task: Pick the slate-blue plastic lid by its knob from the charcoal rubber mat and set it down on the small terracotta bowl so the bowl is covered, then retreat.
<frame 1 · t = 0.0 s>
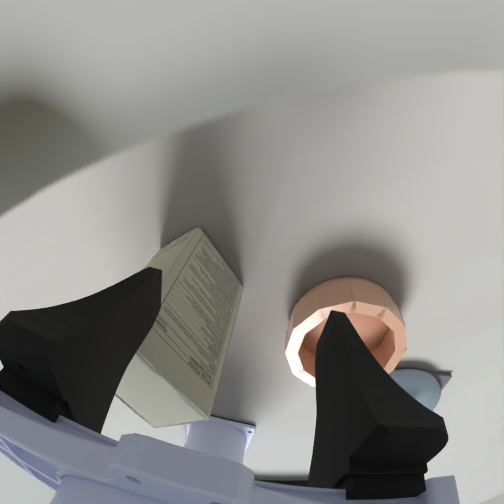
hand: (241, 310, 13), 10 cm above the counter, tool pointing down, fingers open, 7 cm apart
skincare box: (203, 269, 25), on the counter, touching gripper
lid: (391, 403, 28), resting on mat
bowl: (343, 324, 25), on the counter
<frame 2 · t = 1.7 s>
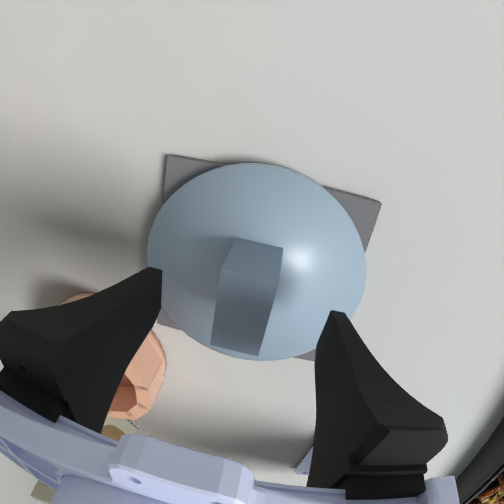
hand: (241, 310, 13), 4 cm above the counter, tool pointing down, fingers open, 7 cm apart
mat: (254, 269, 16), on the counter
skincare box: (108, 417, 27), on the counter
lid: (253, 273, 16), resting on mat
bowl: (109, 344, 21), on the counter
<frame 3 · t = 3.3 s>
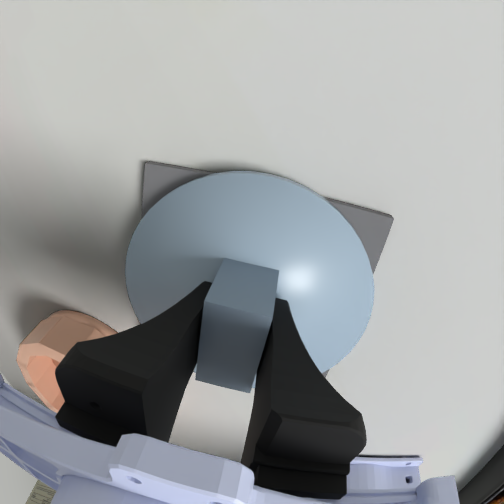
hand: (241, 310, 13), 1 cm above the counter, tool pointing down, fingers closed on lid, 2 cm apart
mat: (246, 291, 14), on the counter
skincare box: (99, 432, 25), on the counter
lid: (245, 296, 14), resting on mat, touching gripper
bowl: (95, 363, 19), on the counter
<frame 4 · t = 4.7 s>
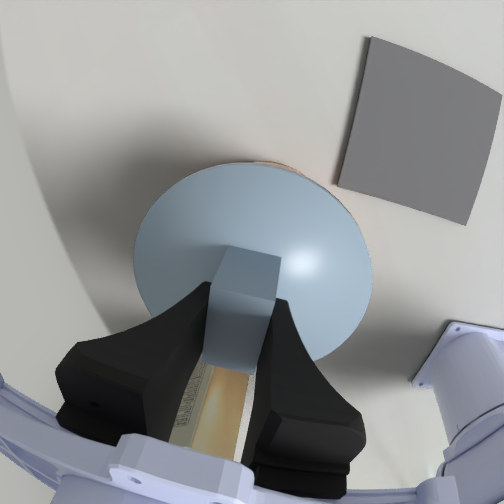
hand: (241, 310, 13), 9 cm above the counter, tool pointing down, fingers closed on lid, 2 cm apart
mat: (427, 134, 17), on the counter
skincare box: (214, 346, 27), on the counter
lid: (249, 282, 15), point 8 cm above the counter, touching gripper
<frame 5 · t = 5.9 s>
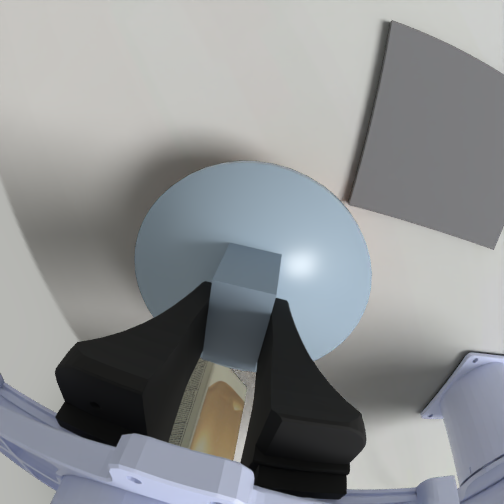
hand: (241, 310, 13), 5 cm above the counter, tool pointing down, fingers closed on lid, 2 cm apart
mat: (456, 141, 13), on the counter
skincare box: (204, 378, 24), on the counter
lid: (249, 280, 15), point 3 cm above the counter, touching bowl, gripper
when the fingers open (5 cm above the counter, at t = 6.1 s): lid stays where it is, resting on bowl.
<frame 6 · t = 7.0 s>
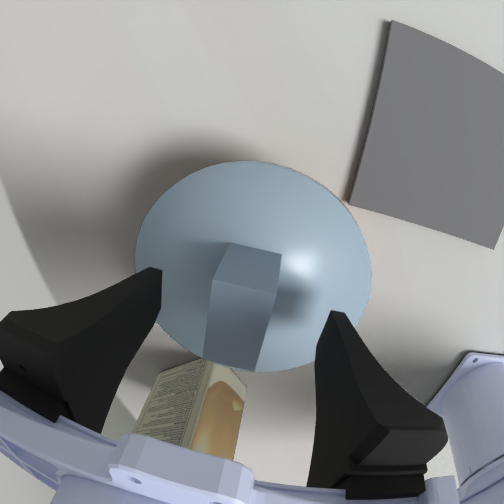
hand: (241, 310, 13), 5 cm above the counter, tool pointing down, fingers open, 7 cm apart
mat: (456, 141, 13), on the counter
skincare box: (203, 378, 24), on the counter
lid: (249, 280, 15), point 3 cm above the counter, touching bowl
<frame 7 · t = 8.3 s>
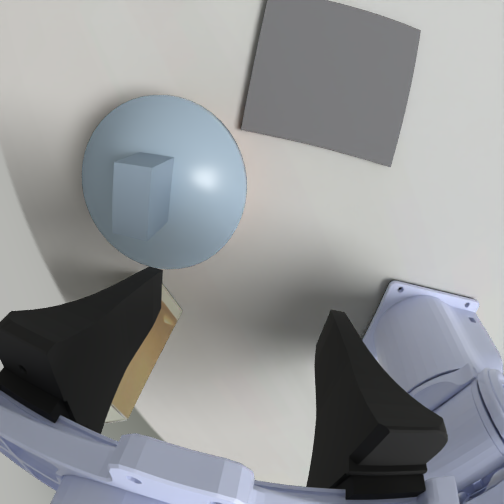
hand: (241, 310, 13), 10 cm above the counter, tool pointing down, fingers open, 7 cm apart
mat: (333, 73, 17), on the counter
skincare box: (147, 302, 28), on the counter
lid: (157, 184, 19), point 3 cm above the counter, touching bowl
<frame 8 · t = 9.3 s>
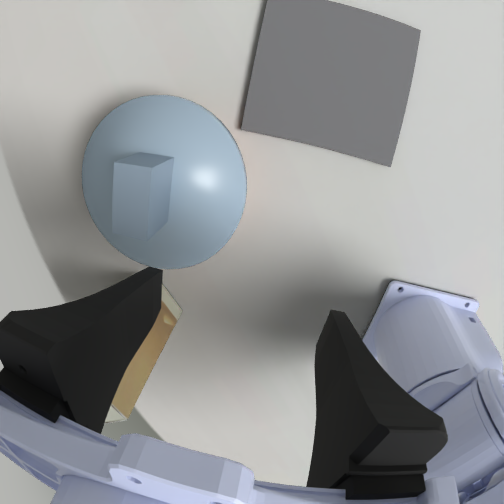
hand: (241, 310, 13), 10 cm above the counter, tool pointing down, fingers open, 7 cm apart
mat: (333, 73, 17), on the counter
skincare box: (147, 302, 28), on the counter
lid: (157, 184, 19), point 3 cm above the counter, touching bowl
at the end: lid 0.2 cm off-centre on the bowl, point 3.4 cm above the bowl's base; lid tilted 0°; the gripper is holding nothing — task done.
